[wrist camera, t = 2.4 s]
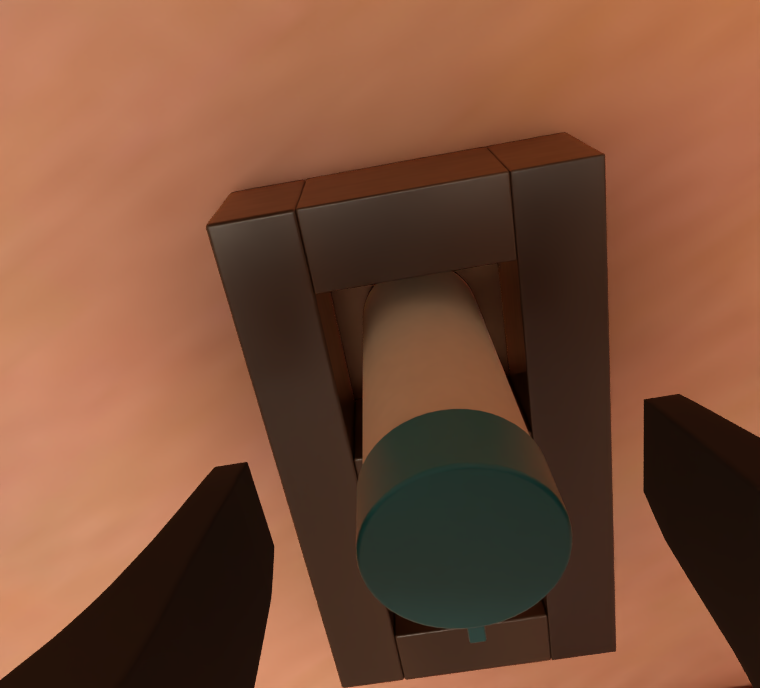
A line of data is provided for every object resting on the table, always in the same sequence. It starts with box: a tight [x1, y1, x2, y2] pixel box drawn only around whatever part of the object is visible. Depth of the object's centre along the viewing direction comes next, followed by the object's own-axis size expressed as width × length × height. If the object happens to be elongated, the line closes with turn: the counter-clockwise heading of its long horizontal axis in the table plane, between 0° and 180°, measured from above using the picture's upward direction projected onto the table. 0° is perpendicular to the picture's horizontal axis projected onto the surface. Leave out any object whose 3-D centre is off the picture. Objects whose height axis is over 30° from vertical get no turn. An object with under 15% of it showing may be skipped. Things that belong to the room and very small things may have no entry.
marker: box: [356, 271, 573, 643], centre depth 15 cm, size 3×4×9 cm
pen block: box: [206, 132, 616, 688], centre depth 19 cm, size 9×15×3 cm, turn 10°
